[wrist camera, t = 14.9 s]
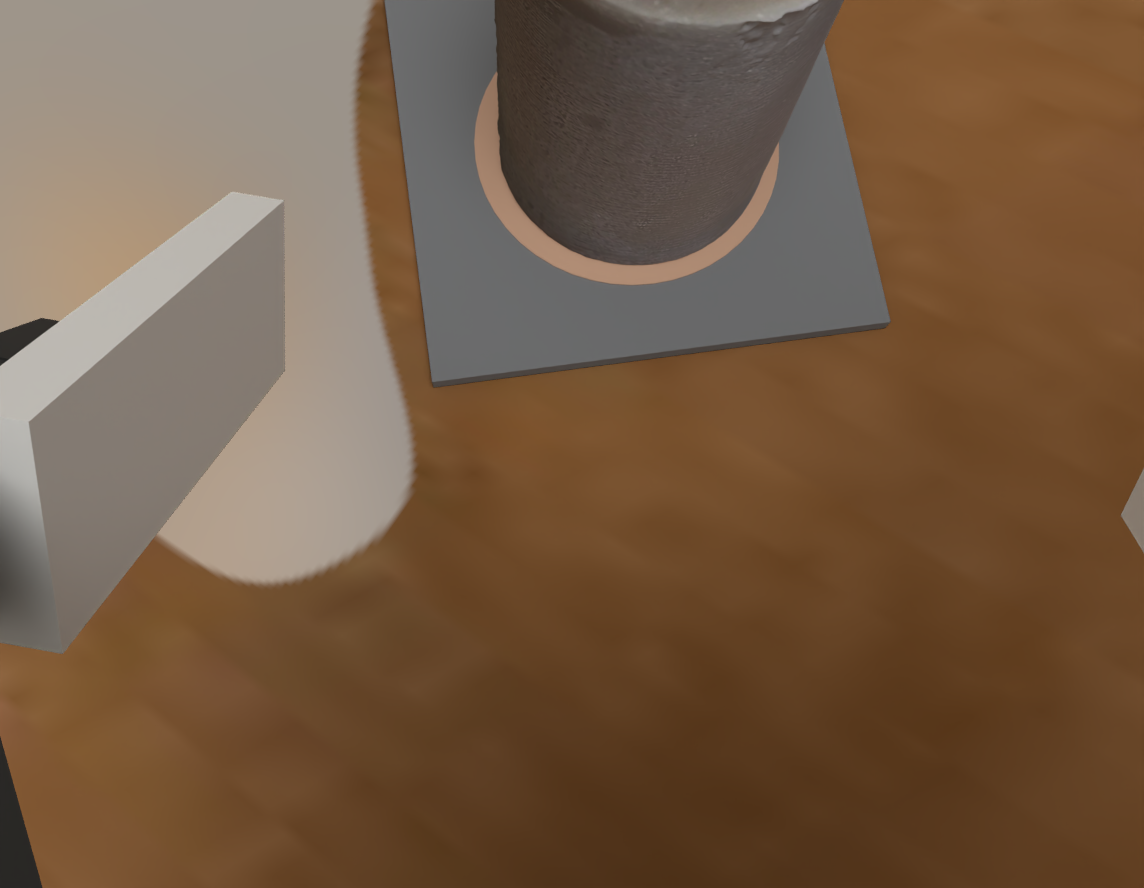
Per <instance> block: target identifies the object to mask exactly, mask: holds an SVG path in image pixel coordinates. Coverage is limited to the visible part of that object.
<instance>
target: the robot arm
mask: <svg viewBox="0 0 1144 888" xmlns="http://www.w3.org/2000/svg"><path fill="white" fill-rule="evenodd" d="M284 298H285V296H284V200H279V199H273V198H267V197H261V196H255V195H249V194H244V193H237V192H231V193H229V194H228V195H227V196H225V197H224V198H223V199H221V200H220V201H219V202H217V203H216V204H215V205H213V206H212V207H211V208H210V209H208V210H207V211H205V212H204V213H203V214H202V215H200V216H199V217H197V218H196V219H195V220H194V221H192V222H191V223H189V224H188V225H187V226H186V227H184V228H183V229H181V230H180V231H179V232H178V233H176V234H175V235H174V236H172V237H171V238H170V239H168V240H167V241H166V242H164V243H163V244H162V245H160V246H159V247H158V248H156V249H155V250H154V251H152V252H151V253H150V254H148V255H147V256H146V257H144V258H143V259H142V260H140V261H139V262H138V263H136V264H135V265H134V266H132V267H131V268H130V269H128V270H127V271H126V272H124V273H123V274H122V275H120V276H119V277H118V278H116V279H115V280H114V281H112V282H111V283H110V284H109V285H107V286H106V287H104V288H103V289H102V290H100V291H99V292H98V293H97V294H95V295H94V296H93V297H91V298H90V299H89V300H87V301H86V302H85V303H83V304H82V305H81V306H80V307H78V308H77V309H75V310H74V311H73V312H71V313H70V314H69V315H67V316H66V317H65V318H63V319H62V320H61V321H56V320H50V319H44V318H40V319H38V320H35V321H32V322H29V323H26V324H23V325H20V326H18V327H15V328H12V329H9V330H6V331H4V332H1V333H0V643H6V644H11V645H17V646H22V647H28V648H33V649H39V650H44V651H50V652H55V653H61V654H63V653H64V652H65V650H66V649H67V648H68V647H69V645H70V644H71V643H72V641H73V640H74V639H75V638H76V636H77V635H78V634H79V633H80V631H81V630H82V629H83V627H84V626H85V625H86V624H87V622H88V621H89V620H90V618H91V617H92V616H93V615H94V613H95V612H96V611H97V610H98V608H99V607H100V606H101V604H102V603H103V602H104V601H105V599H106V598H107V597H108V596H109V594H110V593H111V592H112V590H113V589H114V588H115V587H116V585H117V584H118V583H119V582H120V580H121V579H122V578H123V576H124V575H125V574H126V573H127V571H128V570H129V569H130V567H131V566H132V565H133V564H134V562H135V561H136V560H137V559H138V557H139V556H140V555H141V553H142V552H143V551H144V550H145V548H146V547H147V546H148V545H149V543H150V542H151V541H152V539H153V538H154V537H155V536H156V534H157V533H158V532H159V530H160V529H161V528H162V527H163V525H164V524H165V523H166V522H167V520H168V519H169V517H170V516H171V515H172V514H173V513H174V511H175V510H176V509H177V508H178V506H179V505H180V504H181V502H182V501H183V500H184V499H185V497H186V496H187V495H188V493H189V492H190V491H191V490H192V488H193V487H194V486H195V485H196V483H197V482H198V481H199V479H200V478H201V477H202V476H203V474H204V473H205V472H206V471H207V469H208V468H209V467H210V465H211V464H212V463H213V462H214V460H215V459H216V458H217V457H218V455H219V454H220V453H221V451H222V450H223V449H224V448H225V446H226V445H227V444H228V443H229V441H230V440H231V439H232V437H233V436H234V435H235V434H236V432H237V431H238V430H239V428H240V427H241V426H242V425H243V423H244V422H245V421H246V420H247V418H248V417H249V416H250V414H251V413H252V412H253V411H254V409H255V408H256V407H257V406H258V404H259V403H260V402H261V400H262V399H263V398H264V397H265V395H266V394H267V393H268V392H269V390H270V389H271V387H272V386H273V385H274V384H275V383H276V381H277V380H278V379H279V377H280V376H281V375H282V374H283V372H284V371H285V321H284V320H285V318H284V317H285V313H284V311H285V307H284V305H285V300H284ZM1121 516H1122V518H1123V520H1124V521H1125V523H1126V525H1127V526H1128V528H1129V529H1130V531H1131V533H1132V534H1133V536H1134V538H1135V539H1136V541H1137V542H1138V544H1139V546H1140V547H1141V549H1142V551H1143V552H1144V469H1143V471H1142V473H1141V475H1140V477H1139V479H1138V481H1137V483H1136V485H1135V487H1134V489H1133V492H1132V494H1131V496H1130V498H1129V500H1128V502H1127V504H1126V506H1125V508H1124V510H1123V512H1122V514H1121ZM0 888H42V885H41V881H40V878H39V874H38V870H37V867H36V863H35V860H34V856H33V852H32V849H31V845H30V842H29V838H28V835H27V831H26V827H25V824H24V820H23V817H22V813H21V810H20V806H19V802H18V799H17V795H16V792H15V788H14V784H13V781H12V777H11V774H10V770H9V767H8V763H7V759H6V756H5V752H4V749H3V745H2V741H1V738H0Z"/></svg>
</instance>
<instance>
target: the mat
mask: <svg viewBox="0 0 1144 888" xmlns="http://www.w3.org/2000/svg"><path fill="white" fill-rule="evenodd" d="M385 8H386V16H387V24H388V32H389V40H390V48H391V56H392V64H393V72H394V80H395V88H396V96H397V104H398V112H399V120H400V128H401V136H402V144H403V152H404V160H405V168H406V176H407V184H408V192H409V200H410V209H411V217H412V225H413V233H414V241H415V249H416V257H417V265H418V273H419V281H420V289H421V297H422V305H423V313H424V321H425V329H426V337H427V345H428V353H429V361H430V369H431V377H432V383H433V387H441V386H448V385H456V384H464V383H471V382H479V381H486V380H494V379H501V378H509V377H517V376H524V375H532V374H539V373H547V372H555V371H562V370H570V369H577V368H585V367H593V366H600V365H608V364H615V363H623V362H630V361H638V360H646V359H653V358H661V357H668V356H676V355H684V354H691V353H699V352H706V351H714V350H722V349H729V348H737V347H744V346H752V345H760V344H767V343H775V342H782V341H790V340H797V339H805V338H813V337H820V336H828V335H835V334H843V333H851V332H858V331H866V330H873V329H881V328H885V327H886V326H887V325H888V324H889V323H890V322H891V321H890V317H889V313H888V309H887V305H886V300H885V296H884V292H883V288H882V284H881V279H880V275H879V271H878V267H877V263H876V258H875V254H874V250H873V246H872V242H871V237H870V233H869V229H868V225H867V221H866V216H865V212H864V208H863V204H862V200H861V195H860V191H859V187H858V183H857V179H856V174H855V170H854V166H853V162H852V158H851V153H850V149H849V145H848V141H847V137H846V132H845V128H844V124H843V120H842V116H841V111H840V107H839V103H838V99H837V95H836V90H835V86H834V82H833V78H832V74H831V69H830V65H829V61H828V57H827V53H826V48H825V44H823V46H822V48H821V51H820V53H819V55H818V57H817V60H816V62H815V64H814V66H813V69H812V71H811V73H810V75H809V77H808V79H807V82H806V84H805V86H804V88H803V91H802V93H801V95H800V97H799V99H798V101H797V103H796V106H795V108H794V110H793V112H792V114H791V116H790V119H789V121H788V123H787V126H786V128H785V130H784V132H783V134H782V136H781V138H780V140H779V142H778V144H777V146H776V148H775V151H774V153H773V155H772V157H771V159H770V161H769V163H768V165H767V167H766V169H765V171H764V173H763V175H762V177H761V180H760V183H759V185H758V188H757V190H756V192H755V194H754V196H753V197H752V199H751V201H750V203H749V204H748V206H747V208H746V209H745V210H744V212H743V214H742V215H741V216H740V217H739V219H738V220H737V221H736V222H735V223H734V224H733V225H732V226H731V227H730V228H729V229H728V231H727V232H726V233H724V234H723V235H722V236H721V237H719V238H718V239H717V240H716V241H714V242H713V243H711V244H709V245H707V246H706V247H704V248H703V249H701V250H699V251H697V252H695V253H692V254H690V255H688V256H685V257H682V258H680V259H677V260H673V261H667V262H663V263H658V264H650V265H622V264H613V263H608V262H603V261H601V260H596V259H592V258H588V257H585V256H583V255H581V254H578V253H576V252H573V251H571V250H569V249H568V248H566V247H564V246H562V245H561V244H559V243H558V242H556V241H555V240H553V239H552V238H551V237H549V236H548V235H547V234H546V233H544V232H543V230H542V229H540V228H539V227H538V226H537V225H536V224H535V223H534V222H532V221H531V220H530V218H529V217H528V216H527V215H526V214H525V212H524V211H523V210H522V209H521V207H520V206H519V204H518V203H517V201H516V200H515V198H514V196H513V194H512V193H511V191H510V189H509V187H508V184H507V182H506V179H505V177H504V175H503V172H502V170H501V160H500V154H499V148H500V143H499V140H500V136H499V134H498V129H497V127H498V125H497V122H498V116H499V114H498V92H497V76H498V73H497V53H496V46H497V38H496V24H495V21H494V19H495V0H385Z"/></svg>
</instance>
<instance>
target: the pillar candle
mask: <svg viewBox="0 0 1144 888" xmlns="http://www.w3.org/2000/svg"><path fill="white" fill-rule="evenodd" d="M843 1H844V0H495V19H494V21H495V24H496V38H497V46H496V53H497V73H498V76H497V92H498V114H499V116H498V122H497V125H498V127H497V129H498V134H499V136H500V140H499V143H500V148H499V154H500V160H501V170H502V172H503V175H504V177H505V179H506V182H507V184H508V187H509V189H510V191H511V193H512V194H513V196H514V198H515V200H516V201H517V203H518V204H519V206H520V207H521V209H522V210H523V211H524V212H525V214H526V215H527V216H528V217H529V218H530V220H531V221H532V222H534V223H535V224H536V225H537V226H538V227H539V228H540V229H542V230H543V232H544V233H546V234H547V235H548V236H549V237H551V238H552V239H553V240H555V241H556V242H558V243H559V244H561V245H562V246H564V247H566V248H568V249H569V250H571V251H573V252H576V253H578V254H581V255H583V256H585V257H588V258H592V259H596V260H601V261H603V262H608V263H613V264H622V265H650V264H658V263H663V262H667V261H673V260H677V259H680V258H682V257H685V256H688V255H690V254H692V253H695V252H697V251H699V250H701V249H703V248H704V247H706V246H707V245H709V244H711V243H713V242H714V241H716V240H717V239H718V238H719V237H721V236H722V235H723V234H724V233H726V232H727V231H728V229H729V228H730V227H731V226H732V225H733V224H734V223H735V222H736V221H737V220H738V219H739V217H740V216H741V215H742V214H743V212H744V210H745V209H746V208H747V206H748V204H749V203H750V201H751V199H752V197H753V196H754V194H755V192H756V190H757V188H758V185H759V183H760V180H761V177H762V175H763V173H764V171H765V169H766V167H767V165H768V163H769V161H770V159H771V157H772V155H773V153H774V151H775V148H776V146H777V144H778V142H779V140H780V138H781V136H782V134H783V132H784V130H785V128H786V126H787V123H788V121H789V119H790V116H791V114H792V112H793V110H794V108H795V106H796V103H797V101H798V99H799V97H800V95H801V93H802V91H803V88H804V86H805V84H806V82H807V79H808V77H809V75H810V73H811V71H812V69H813V66H814V64H815V62H816V60H817V57H818V55H819V53H820V51H821V48H822V46H823V44H824V42H825V40H826V38H827V36H828V34H829V31H830V29H831V27H832V25H833V22H834V20H835V18H836V16H837V14H838V12H839V10H840V7H841V5H842V3H843Z"/></svg>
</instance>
